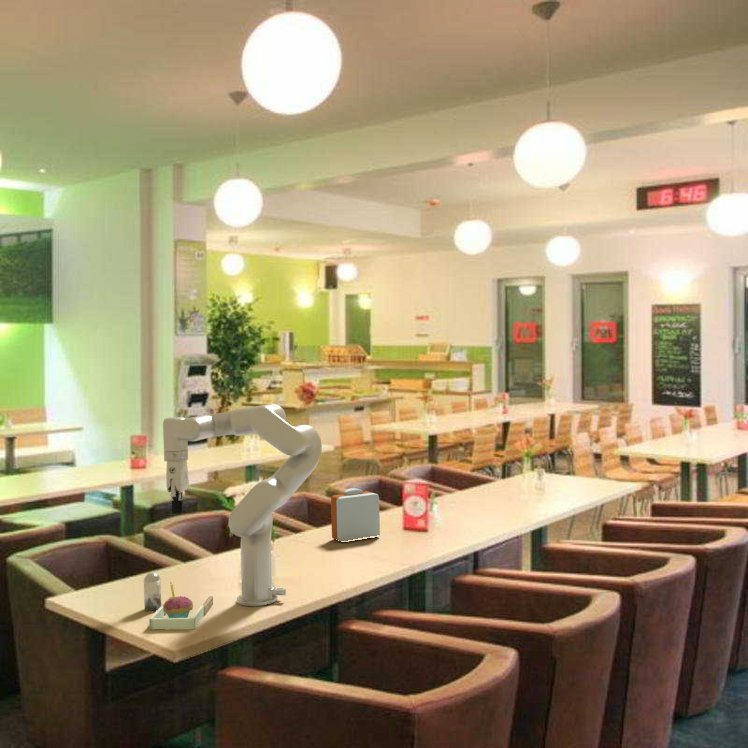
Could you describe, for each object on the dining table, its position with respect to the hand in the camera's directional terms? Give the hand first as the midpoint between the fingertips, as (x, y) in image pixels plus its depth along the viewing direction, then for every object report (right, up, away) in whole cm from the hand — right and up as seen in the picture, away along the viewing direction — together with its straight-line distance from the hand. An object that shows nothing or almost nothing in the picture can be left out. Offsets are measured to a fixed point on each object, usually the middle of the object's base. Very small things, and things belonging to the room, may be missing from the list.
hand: (177, 512), depth 267 cm
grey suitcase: (+56, -24, +75) cm, 97 cm away
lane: (+6, -27, -14) cm, 31 cm away
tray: (+6, -28, -25) cm, 38 cm away
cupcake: (+6, -28, -24) cm, 37 cm away
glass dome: (-5, -28, -12) cm, 30 cm away
